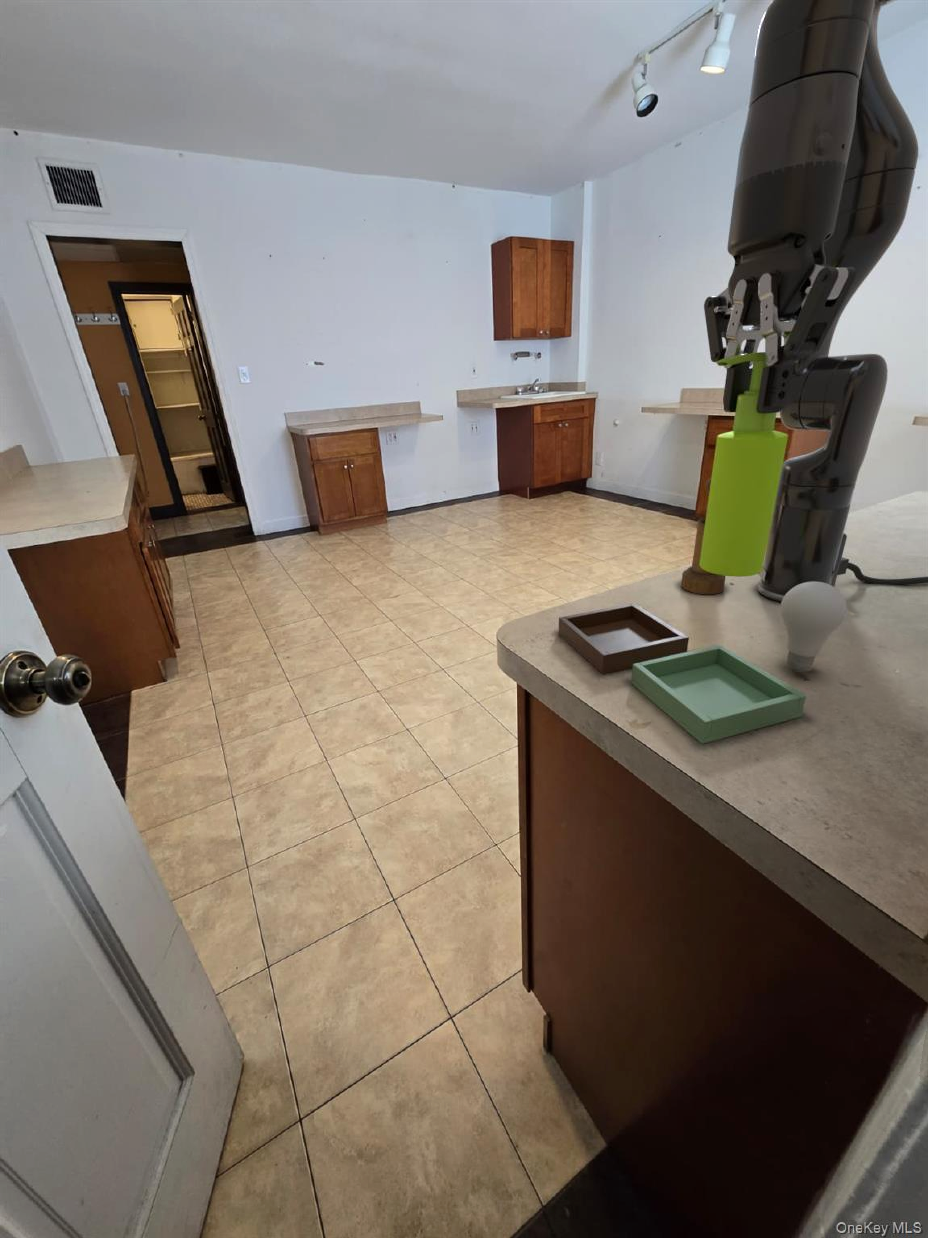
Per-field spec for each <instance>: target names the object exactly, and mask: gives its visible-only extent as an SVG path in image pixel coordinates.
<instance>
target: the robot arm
mask: <svg viewBox="0 0 928 1238" xmlns="http://www.w3.org/2000/svg"><path fill="white" fill-rule="evenodd" d="M896 1H897V0H772V1H771V3H770V4H769V5H768V7H767V9H766V11H765V12H764V15H763V17H762V19H761V21H760V25H759V29H758V34H757V40H756V46H755V53H754V54H755V55H754V61H753V63H754V64H753V71H752V80H751V86H750V87H751V88H750V94H749V95H750V96H749V103H748V111H747V115H746V120H745V126H744V129H743V133H742V138H741V142H740V147H739V153H738V159H737V160H738V161H737V167H736V175H735V183H734V191H733V201H732V208H731V215H730V224H729V232H728V239H727V247H726V249H727V252H728V254H729V255H730V256H732V257H733V259H734V266H733V269H732V272H731V274H730V277H729V280H728V283H727V287H726V288H725V289H724V290H723V291H721V292H720V293H719V294H718V295H713V296H712V295H711V296H707V297H706V299H705V300H704V304H703V309H704V318H705V325H706V333H707V342H708V347H709V348H708V349H709V355H710V361H711V362H712V363H716V362H717V361H719V360H721V359H724V358H727V357H730V356H734V355H739V354H747V353H758V351H759V346H760V343H761V341H762V340H763V339H764V352H765V363H766V364H767V365H768V366H769V367H763V370H762V377H761V383H760V389H759V395H758V401H757V407H756V410H757V412H758V413H764V414H767V413H776V414H777V413H779V416H780V421H781V423H782V425H783V426H784V428H787V429H789V430H794V431H817V432H818V431H819V432H829V435H828V436H827V437H828V438H827V440H826V442H825V444H824V445H823V446H822V447H820V448H818V449H816V450H815V451H812V452H809V453H807V454H803V455H798V456H794V457H791V458H788V459H786V460H785V461H783V465H782V470H781V475H780V480H779V486H778V491H777V496H776V501H775V506H774V511H773V516H772V522H771V527H770V532H769V537H768V542H767V547H766V552H765V558H764V563H763V568H762V571H761V572H760V573H758V574H757V575H758V576H759V577H760V578H759V581H758V586H757V591H758V592H759V594H760V595H762V596H764V597H765V598H768V599H771V600H773V601H777V602H780V603H781V602H782V600H783V598H784V596H785V595H786V593H787V592H788V591H790V590H791V589H792V588H793V587H795V586H797V585H799V584H802V583H806V582H823V583H827V584H829V585H831V586H833V587H835V585H836V582H837V578H838V576H841V575H845V574H846V573H847V570H849V571H852V573H853V574H854V576H855V578H856V579H857V580H858V581H860V582H863V583H867V584H872V585H887V586H888V585H890V586H903V585H916V584H917V585H918V584H927V583H928V576H919V577H905V578H876V577H872V576H871V577H870V576H868V575H865V574H863V572H862V570H861V568H860V567H859V566H858V565H856V564H855V563H852V562H850V559H849V558H846V557H843V554H844V551H845V547H846V542H847V539H848V535H847V534H846V533H845V529H846V526H847V521H848V516H849V513H850V509H851V504H852V500H853V497H854V493H855V487H856V485H857V480H858V477H859V473H860V470H861V468H862V466H863V463H864V460H865V458H866V455H867V452H868V448H869V446H870V441H871V438H872V434H873V431H874V428H875V425H876V422H877V418H878V416H879V413H880V409H881V407H882V403H883V400H884V397H885V393H886V387H887V383H888V371H889V370H888V364H887V362H886V360H885V358H884V357H883V356H882V355H881V354H877V353H859V354H845V355H831V356H830V355H829V354H830V351H831V346H832V343H833V338H834V336H835V335H834V334H835V331H836V328H837V326H838V323H839V321H840V319H841V317H842V314H843V313H844V311H845V309H846V307H847V306H848V304H849V302H850V301H851V299H852V298H853V297H854V295H855V294H856V292H857V291H858V290H859V288H860V287H861V286H862V284H863V283H864V282H865V280H866V279H867V278H868V276H869V275H870V274H871V273H872V271H873V270H874V268H875V267H876V266H877V264H878V263H879V262H880V260H882V258H883V256H884V255H885V254H886V252H887V250H888V249H889V248H890V247H891V246H892V243H893V242H894V241H895V239H896V237H897V236H898V234H899V233H900V230H901V229H902V226H903V224H904V222H905V219H906V215H907V211H908V207H909V202H910V198H911V193H912V188H913V183H914V178H915V173H916V169H917V165H918V164H917V163H918V159H919V149H920V148H919V143H918V139H917V135H916V132H915V129H914V127H913V125H912V124H913V123H912V122H911V120H910V118H909V115H908V114H907V113H906V111H905V109H904V107H903V105H902V103H901V101H900V100H899V98H898V96H897V95H896V93H895V91H894V90H893V87H892V85H891V83H890V81H889V79H888V76H887V74H886V71H885V67H884V65H883V63H882V59H881V55H880V50H879V43H878V21H879V14H880V12H881V9H882V8H883V7H884V6H887V5H889V4H892V3H894V2H896ZM751 326H752V327H751ZM744 327H750V328H744ZM723 339H724V340H725V346H724V343H723ZM782 339H783V340H782ZM744 341H745V344H744V348H743V350H742V344H743V342H744ZM782 342H783V343H782ZM753 362H754V361H746V362H741V363H737V364H734V365H729V366H723V368H724V369H726V374H725V382H724V390H723V397H722V403H723V411H724V412H725V413H731V414H732V413H735V411H736V405H737V398H738V395H740V394H744V391H748V390H749V387H750V381H751V374H752V368H753Z"/></svg>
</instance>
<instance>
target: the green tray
mask: <svg viewBox="0 0 928 1238" xmlns="http://www.w3.org/2000/svg"><path fill="white" fill-rule="evenodd" d="M631 685H632V686H634V687H635V688H636V689H638V690H639V691H640V692H641V693H642V694H643V695H644V696H645V697H647V699H649V700H650V701H651V702H653V704H654V705H656V706H657V707H658V708H659V709H661V710H662V712H664V713H665V714H667V715H668V716H669V717H670V718H671V719H672V720H673V721H674V722H676V723H677V724H678V725H679V726H680V727H681V728H683V729H684V731H686V732H687V733H688V734H690V735H691V736H692V737H693V738H694V739H695V740H697V741H698V743H700V744H706V743H711V742H714V741H715V742H716V741H718V740H721V739H726V738H729V737H732V736H736V735H740V734H744V733H748V732H751V731H755V730H758V729H762V728H765V727H769V726H773V725H776V724H780V723H784V722H787V721H791V720H795V719H798V718H801V717H802V715H803V711H804V707H805V703H806V700H807V695H806V694H804V693H803V692H801V691H800V690H798V689H796V688H794V687H793V686H791V685H790V684H788V683H786V682H784V681H783V680H781V679H779V678H777V677H776V676H774V675H772V674H771V673H769V672H767V671H766V670H764V669H762V668H760V667H759V666H757V665H755V664H754V663H752V662H750V661H748V660H747V659H745V658H744V657H742V656H740V655H738V654H736V653H735V652H733V651H732V650H730V649H728V648H727V647H726V646H723V645H721V644H717V645H712V646H708V647H704V648H703V647H702V648H699V649H693V650H689V651H687V652H685V653H680V654H676V655H671V656H667V657H662V658H658V659H653V660H649V661H644V662H640V663H635V664H633V667H632V670H631Z"/></svg>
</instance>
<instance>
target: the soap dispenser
mask: <svg viewBox="0 0 928 1238" xmlns="http://www.w3.org/2000/svg"><path fill="white" fill-rule="evenodd" d="M746 361H754V362H753V364H752V367H751V368H752V374H751V381H750V387H749V390H748V391H744V394H740V395H738V398H737V405H736V411H735V412H734V419H733V425H732V431H727V432H723V433H720V434H718V435H717V436H716V443H715V450H714V455H713V456H714V457H713V465H712V471H711V477H712V478H711V485H710V492H709V496H708V500H707V504H708V506H707V514H706V513H705V518H706V521H705V528H704V535H703V542H702V549H701V557H700V564H699V565H700V567H701V568H702V569H704V570H705V571H708V572H710V573H714V574H718V575H724V576H726V577H736V578H737V577H739V578H740V577H741V578H742V577H752V576H756V575H759V574H758V573H760V572H761V571H762V568H763V563H764V558H765V552H766V547H767V542H768V537H769V532H770V527H771V522H772V516H773V511H774V506H775V501H776V496H777V491H778V486H779V480H780V475H781V470H782V465H783V463H784V459H785V455H786V450H787V449H786V448H787V445H788V440H789V434H787V433H785V432H783V431H777V430H774V429H775V425H776V424H775V423H776V418H777V413H767V414H764V413H758V412H757V410H756V407H757V401H758V395H759V389H760V383H761V377H762V370H763V367H769V366H768V365H767V364H766V363H765V351H762V352H758V351H757V353H747V354H739V355H734V356H730V357H727V358H724V359H721V360H719V361H717V362H715V363H716V364H717V366H719V367H724V366H729V365H734V364H737V363H741V362H746Z"/></svg>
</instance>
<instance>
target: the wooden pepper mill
mask: <svg viewBox="0 0 928 1238" xmlns="http://www.w3.org/2000/svg"><path fill="white" fill-rule="evenodd" d="M711 478H712V476H710V477H708V479H707V480H706V481H705V485H704V490H705V491H706V494H707V496H708V497H709V492H710V485H711ZM707 506H708V503H707V504H706V505H705V508H704V509H705V515H706V514H707ZM705 521H706V517H704V518H699V519H698V520H697V524H696V532H695V533H696V534H695V542H694V549H693V556H692V561H691V566H689V567H688V568H687V569H685V570H683V572H682V575H681V581H680V584H681V585H680V586H681V588H682V589H683V590H685V591H686V592H687V591H688V592H690V593H693V594H699V595H716V594H720V593H722V592H723V591H724V589H725V583H726V578H727V576H724V575H718V574H714V573H710V572H708V571H705V570H704V569H702V568H701V567H700V565H699V564H700V557H701V549H702V542H703V535H704V528H705Z"/></svg>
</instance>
